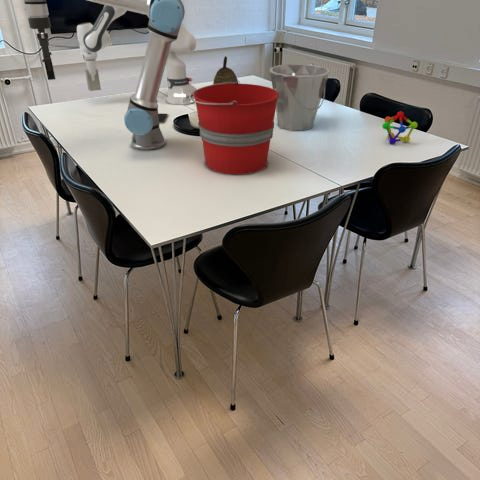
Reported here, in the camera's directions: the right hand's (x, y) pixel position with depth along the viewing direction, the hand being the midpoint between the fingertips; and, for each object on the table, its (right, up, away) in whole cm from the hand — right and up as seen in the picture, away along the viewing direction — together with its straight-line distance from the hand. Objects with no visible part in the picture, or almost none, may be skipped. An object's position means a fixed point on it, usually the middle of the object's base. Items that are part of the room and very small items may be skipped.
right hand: (93, 79), depth 260 cm
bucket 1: (+84, -61, -70) cm, 126 cm away
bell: (+78, -4, +22) cm, 81 cm away
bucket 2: (+116, -34, -26) cm, 123 cm away
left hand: (+11, -29, -83) cm, 88 cm away
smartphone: (+42, -28, -18) cm, 54 cm away
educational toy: (+161, -48, -49) cm, 175 cm away
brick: (0, -5, +3) cm, 6 cm away
